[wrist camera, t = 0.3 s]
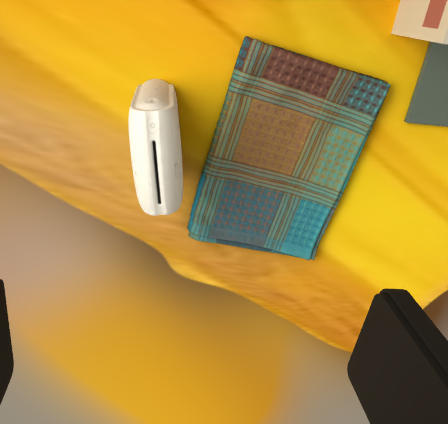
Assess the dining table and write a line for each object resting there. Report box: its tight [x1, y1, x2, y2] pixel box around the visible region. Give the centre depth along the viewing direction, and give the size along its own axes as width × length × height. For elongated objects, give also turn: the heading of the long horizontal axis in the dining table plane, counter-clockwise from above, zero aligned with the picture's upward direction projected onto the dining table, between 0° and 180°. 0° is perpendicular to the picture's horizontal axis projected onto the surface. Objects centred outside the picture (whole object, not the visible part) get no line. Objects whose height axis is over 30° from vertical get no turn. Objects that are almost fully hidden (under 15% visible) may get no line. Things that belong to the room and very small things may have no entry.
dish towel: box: [187, 36, 390, 260], centre depth 47 cm, size 17×23×2 cm
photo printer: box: [129, 79, 183, 216], centre depth 39 cm, size 10×4×12 cm, turn 1°
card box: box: [391, 0, 448, 44], centre depth 37 cm, size 6×2×9 cm, turn 173°
